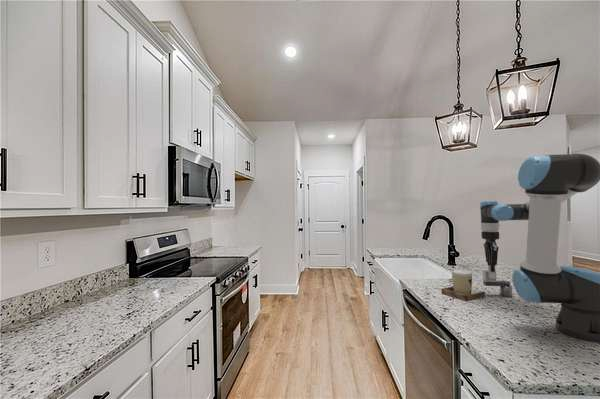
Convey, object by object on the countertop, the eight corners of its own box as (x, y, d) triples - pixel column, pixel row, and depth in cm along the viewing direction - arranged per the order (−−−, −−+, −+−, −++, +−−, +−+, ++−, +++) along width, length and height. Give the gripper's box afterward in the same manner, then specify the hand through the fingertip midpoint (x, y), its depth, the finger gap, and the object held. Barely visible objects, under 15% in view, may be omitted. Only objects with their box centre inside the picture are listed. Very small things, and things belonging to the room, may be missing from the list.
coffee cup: (475, 298, 143) (474, 274, 143) (453, 297, 146) (453, 273, 146) (470, 293, 152) (470, 270, 152) (450, 291, 155) (450, 269, 155)
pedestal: (514, 296, 145) (514, 286, 145) (508, 297, 143) (508, 287, 143) (504, 293, 150) (503, 283, 150) (498, 295, 148) (497, 285, 148)
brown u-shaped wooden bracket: (485, 296, 146) (484, 291, 146) (466, 301, 140) (466, 296, 140) (459, 289, 158) (459, 284, 158) (441, 293, 152) (441, 288, 152)
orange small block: (479, 288, 160) (479, 287, 160) (478, 288, 159) (478, 288, 159) (474, 287, 162) (474, 286, 162) (473, 287, 161) (473, 286, 161)
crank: (507, 284, 148) (507, 270, 148) (511, 286, 144) (511, 271, 144) (482, 284, 150) (482, 270, 150) (486, 286, 146) (485, 271, 146)
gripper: (503, 232, 139) (506, 281, 138) (493, 230, 151) (495, 275, 151) (486, 232, 141) (488, 281, 140) (477, 230, 153) (479, 274, 153)
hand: (492, 278), depth 145 cm, fingers closed
